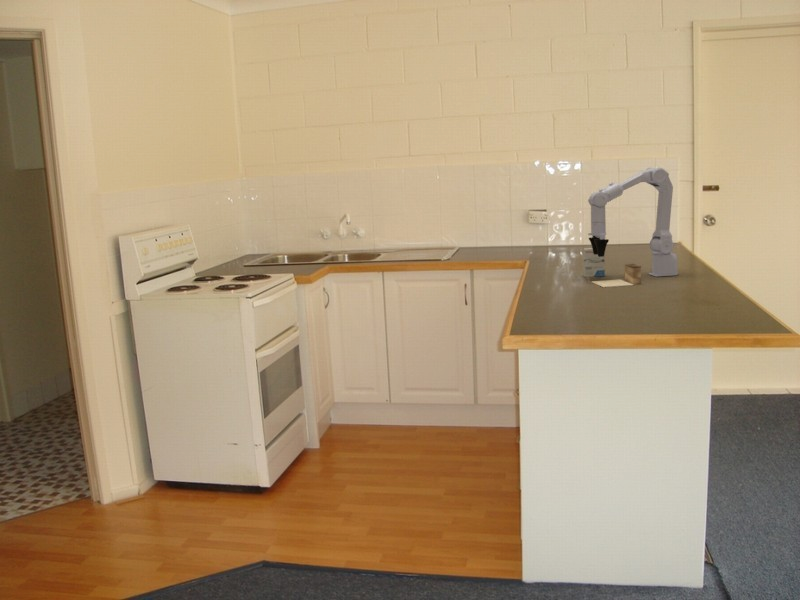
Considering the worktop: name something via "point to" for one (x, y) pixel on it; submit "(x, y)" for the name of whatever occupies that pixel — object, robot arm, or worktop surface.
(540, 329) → the worktop surface
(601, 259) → the ink box
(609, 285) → the mat
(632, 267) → the oak slab
